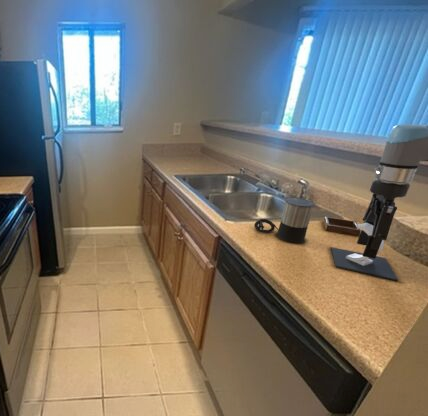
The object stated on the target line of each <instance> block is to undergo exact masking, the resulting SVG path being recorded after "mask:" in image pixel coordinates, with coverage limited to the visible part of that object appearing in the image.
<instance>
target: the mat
mask: <svg viewBox="0 0 428 416" xmlns="http://www.w3.org/2000/svg"><path fill="white" fill-rule="evenodd" d="M330 251H331V254H332V258H333V263H334V267H335V268H337V269H338V268H339V269H342V270H347V271H351V272H356V273H360V274H365V275H368V276H373V277H378V278H381V279H385V280H389V281H395V282H398V281H399V279H398V277H397V276H396V274H395V272H394V271H393V268H391V265H390V264H389V262H388V260H387V259H386V257H381V256H377V255H376V257H375V259H374V258H368V259H371V260H373V263H370V264H368V265H365V266H363V265H361V264H358V263H356V262H354V261H351V260H349V259H347V258H346V256H348V255H351V254H354V253H356V254H360V255H363V252H357V251H353V250H348V249H342V248H338V247H334V246H333V247H332V246H331V247H330Z"/></svg>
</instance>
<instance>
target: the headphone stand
mask: <svg viewBox="0 0 428 416" xmlns="http://www.w3.org/2000/svg"><path fill="white" fill-rule="evenodd" d="M357 228H360V230H363V231H364V232H366V233H367V234H368V235H372V231H373V225H371V224H369V223H363V222H362V223H359V224H358V225H357ZM384 246H385V240H382V242H381V245H380V247H379V250H378V252H377V255H379V254H380V253H382V251H383V250H384ZM346 258H347V259H349V260H351V261H354V262H356V263H358V264H361V265H363V266H365V265H368V264H370V263H373V260H371V259H368V258H369V257H364V256H363V255H360V254H356V253H354V254H351V255H348V256H346Z"/></svg>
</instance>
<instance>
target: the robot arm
mask: <svg viewBox="0 0 428 416" xmlns="http://www.w3.org/2000/svg"><path fill="white" fill-rule="evenodd" d="M421 162H428V124H417V123H415V124H412V123H411V124H410V123H409V124H408V123H401V124H396V125H395V126H392V128H391V130H390V132H389V135H388V137H387V139H386V140H385V145H384V148H383V151H382V155H381V157H380V161H379V163H378V167H375V168H374V172H375V175H374V178H375V179H373V180H372V183H371V186H370V188H369V191H370V193H372V196H371V200H370V202H369V204H368V206H367V209H366V211H365V213H364V216H363V217H362V224H363V223H369V224H371V225H373V231H372V235H368V234H367V233H366V232H364V231H363V230H361V229H360V230H361V231H360V234H359V236H358V239H357V240H356V241H357V242H356V244H357V245H361V246H365V248H364V249H363V252H362V253H363V256H364V257H369V258H374V259H375V257H376V256H377V255H378V254H377V252H378V250H379V247H380V245H381V242H382V240H384V241H387V240H388V236H389V233H390V229H391V226H392V223H393V220H394V216H395V214H396V211H397V210H398V207H397V206H396V202H395V199H396V198H404V197H406V196H407V194H408V192H409V189H410V187H411V184H410V183H412V182H413V180H414V177H415V176H416V172H417V170H418V166H419V165H420V163H421Z"/></svg>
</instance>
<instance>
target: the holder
mask: <svg viewBox="0 0 428 416" xmlns="http://www.w3.org/2000/svg"><path fill="white" fill-rule="evenodd" d="M323 225H324V228H325V231H327V232H332V233H339V234H343V235H349V236H354V237H359V236H360V233H361V229H360V228H357V225H359V224H358V222H357V221H356V220H351V219H343V218H337V217H331V216H324V218H323Z"/></svg>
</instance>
